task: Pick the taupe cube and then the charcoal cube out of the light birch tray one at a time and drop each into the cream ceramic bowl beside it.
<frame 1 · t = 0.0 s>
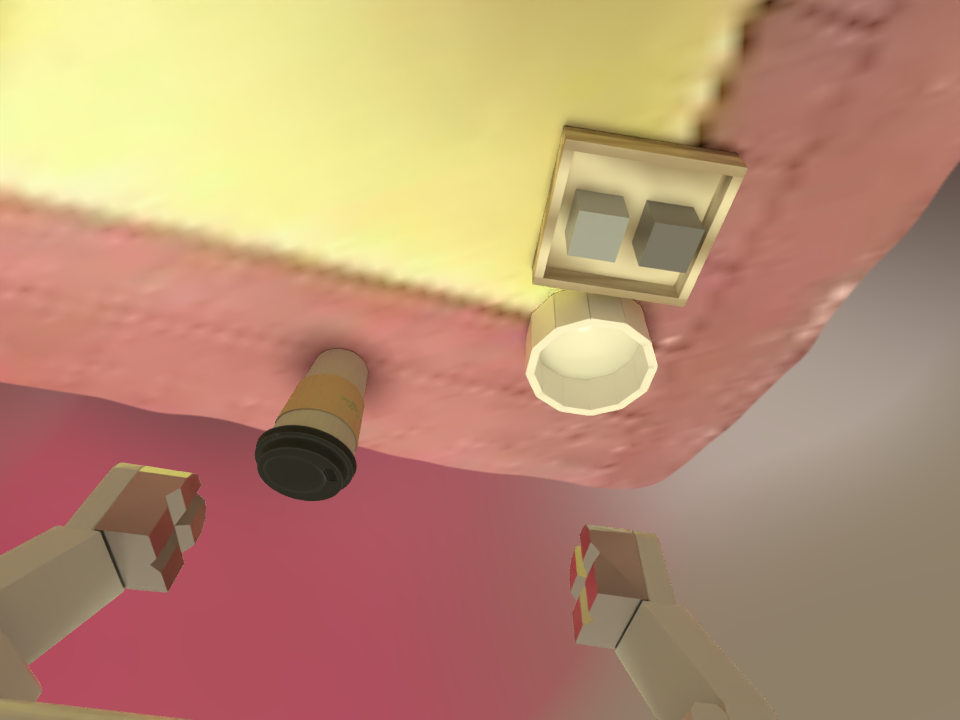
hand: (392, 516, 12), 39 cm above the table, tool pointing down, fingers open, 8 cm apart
charcoal cube: (661, 225, 47), point 1 cm above the table, touching parts tray
bowl: (586, 335, 57), on the table
coffee cup: (342, 366, 62), on the table
taupe cube: (593, 214, 47), point 1 cm above the table, touching parts tray
parts tray: (625, 214, 48), on the table
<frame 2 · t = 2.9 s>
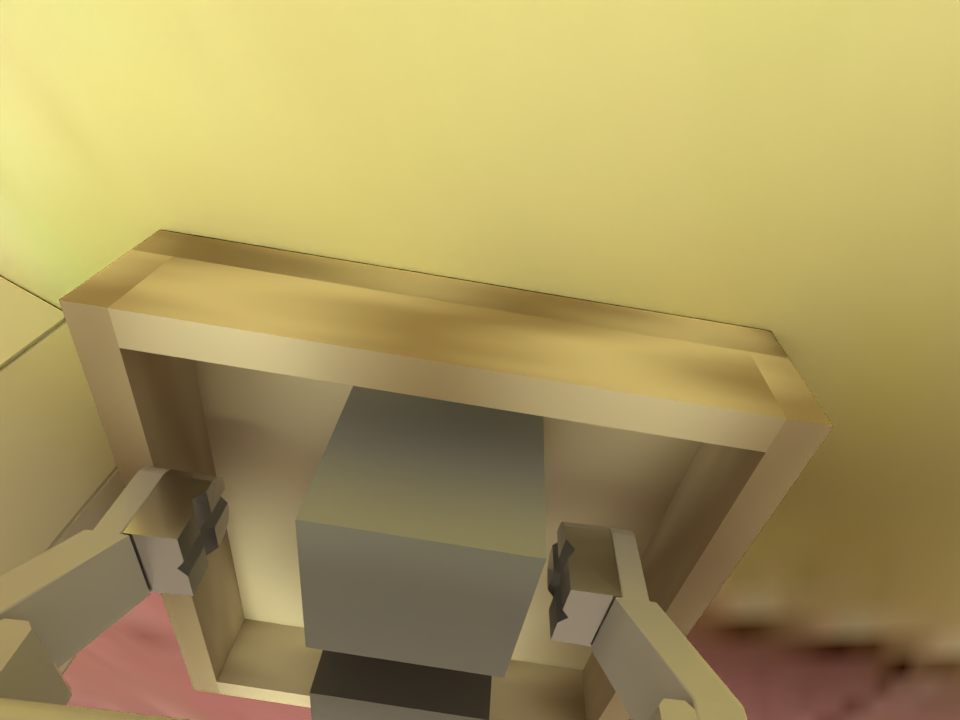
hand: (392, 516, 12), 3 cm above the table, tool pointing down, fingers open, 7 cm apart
charcoal cube: (422, 591, 17), point 1 cm above the table, touching parts tray
taupe cube: (442, 449, 13), point 1 cm above the table, touching parts tray
parts tray: (436, 499, 16), on the table
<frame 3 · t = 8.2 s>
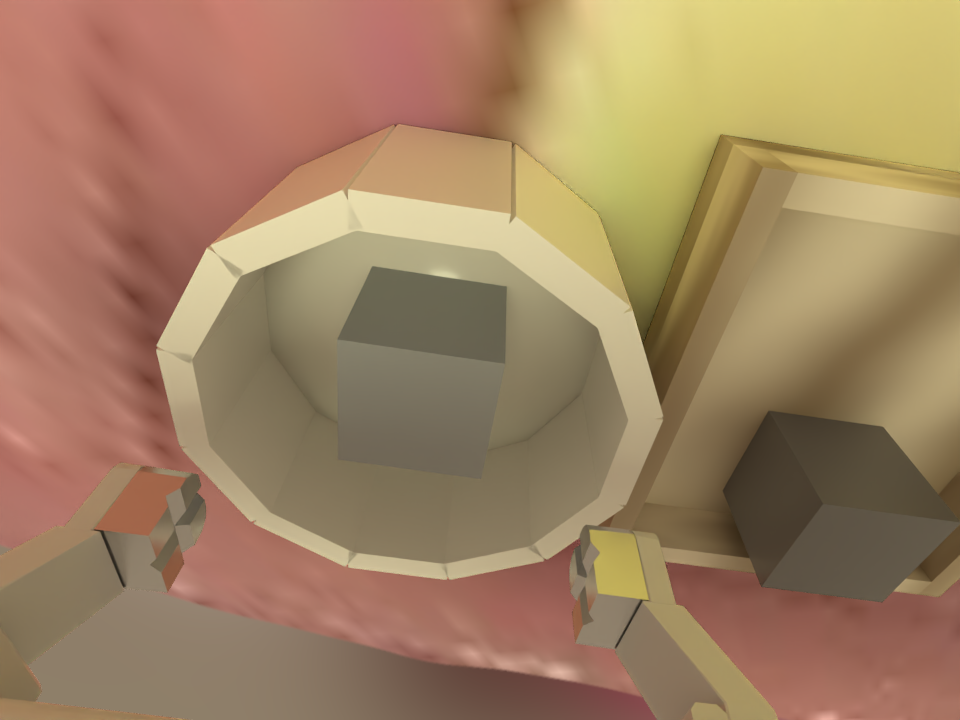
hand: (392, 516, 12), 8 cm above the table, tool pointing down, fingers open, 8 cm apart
charcoal cube: (798, 460, 20), point 1 cm above the table, touching parts tray
bowl: (435, 321, 18), on the table
taupe cube: (433, 332, 17), point 1 cm above the table, touching bowl
parts tray: (827, 377, 19), on the table
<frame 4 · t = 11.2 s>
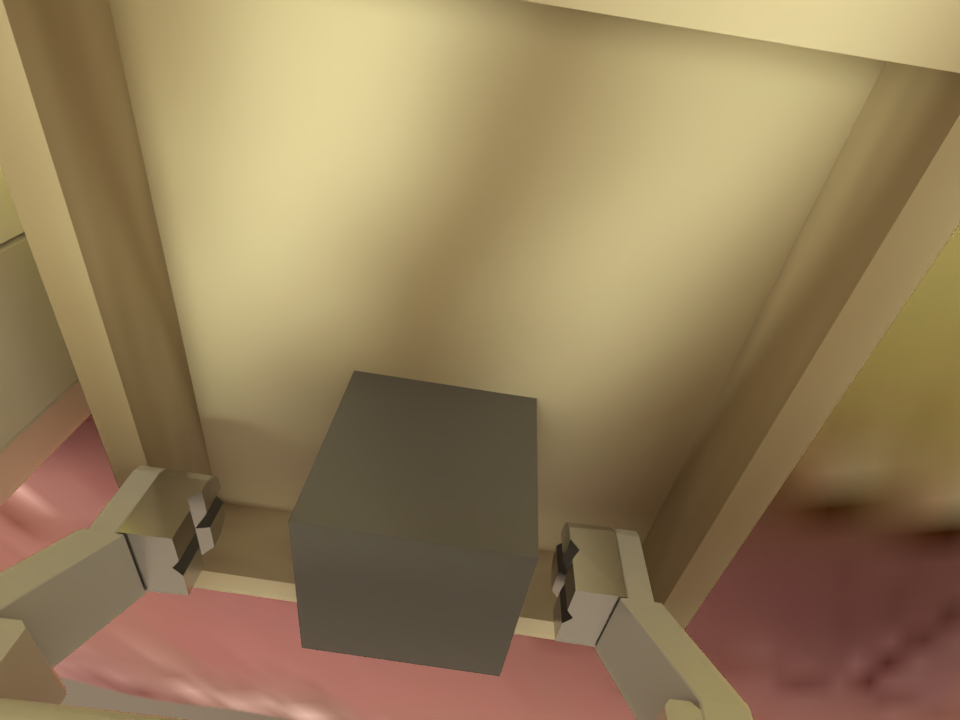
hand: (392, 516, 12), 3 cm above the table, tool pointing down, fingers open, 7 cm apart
charcoal cube: (437, 449, 13), point 1 cm above the table, touching parts tray
parts tray: (455, 321, 12), on the table
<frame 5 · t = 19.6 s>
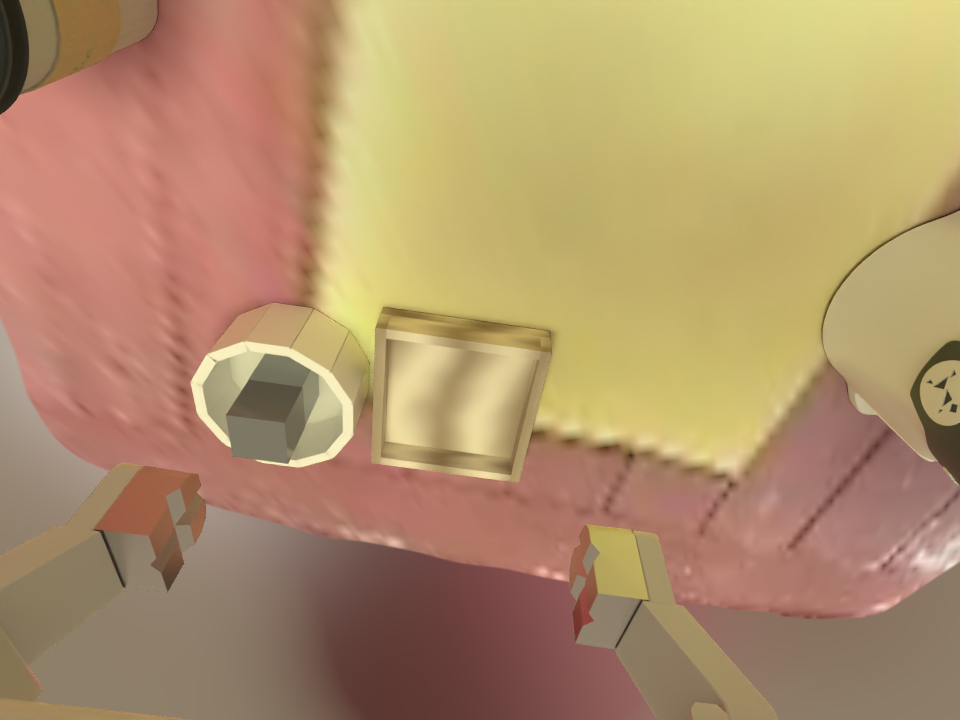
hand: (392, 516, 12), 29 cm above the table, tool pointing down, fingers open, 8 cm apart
charcoal cube: (277, 403, 42), point 5 cm above the table, touching taupe cube
bowl: (297, 367, 46), on the table
taupe cube: (294, 372, 45), point 1 cm above the table, touching charcoal cube, bowl
parts tray: (457, 389, 47), on the table
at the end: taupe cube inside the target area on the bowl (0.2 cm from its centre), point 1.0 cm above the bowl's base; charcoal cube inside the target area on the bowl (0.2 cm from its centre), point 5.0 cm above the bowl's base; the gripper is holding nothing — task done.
